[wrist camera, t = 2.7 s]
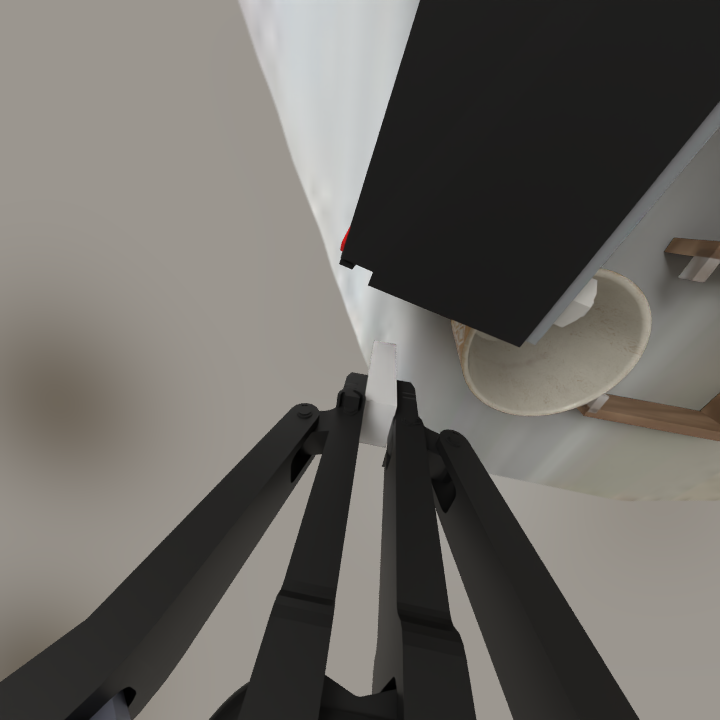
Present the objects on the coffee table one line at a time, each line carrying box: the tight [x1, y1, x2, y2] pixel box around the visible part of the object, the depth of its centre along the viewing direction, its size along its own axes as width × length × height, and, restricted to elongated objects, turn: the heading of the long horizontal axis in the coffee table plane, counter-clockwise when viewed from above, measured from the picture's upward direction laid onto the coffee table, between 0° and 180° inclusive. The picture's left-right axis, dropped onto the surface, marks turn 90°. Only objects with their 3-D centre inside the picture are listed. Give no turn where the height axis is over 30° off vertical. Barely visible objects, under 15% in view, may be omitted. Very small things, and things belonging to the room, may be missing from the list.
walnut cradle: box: [577, 238, 720, 441], centre depth 26 cm, size 18×17×4 cm
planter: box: [451, 268, 652, 416], centre depth 24 cm, size 13×13×10 cm
